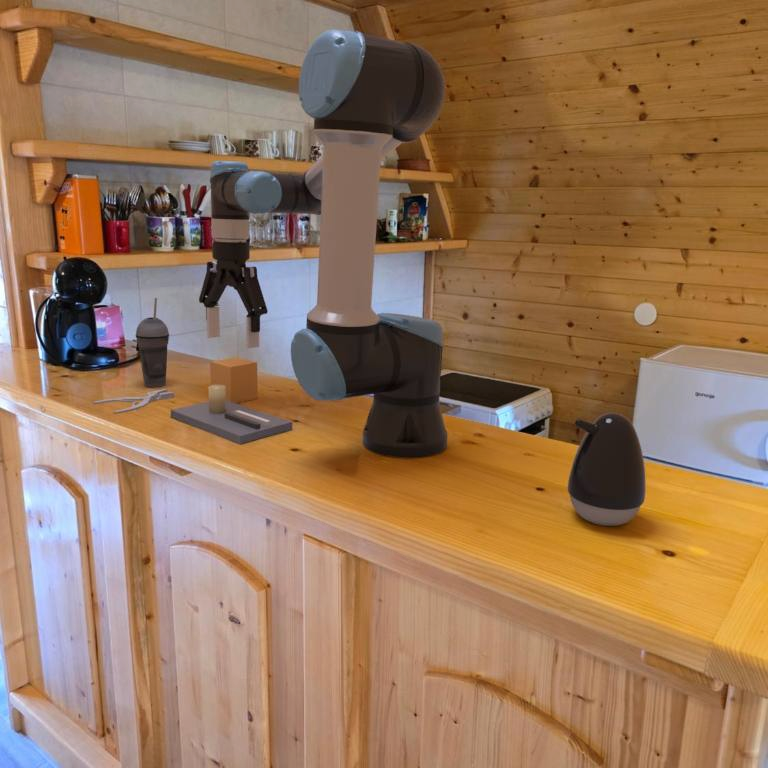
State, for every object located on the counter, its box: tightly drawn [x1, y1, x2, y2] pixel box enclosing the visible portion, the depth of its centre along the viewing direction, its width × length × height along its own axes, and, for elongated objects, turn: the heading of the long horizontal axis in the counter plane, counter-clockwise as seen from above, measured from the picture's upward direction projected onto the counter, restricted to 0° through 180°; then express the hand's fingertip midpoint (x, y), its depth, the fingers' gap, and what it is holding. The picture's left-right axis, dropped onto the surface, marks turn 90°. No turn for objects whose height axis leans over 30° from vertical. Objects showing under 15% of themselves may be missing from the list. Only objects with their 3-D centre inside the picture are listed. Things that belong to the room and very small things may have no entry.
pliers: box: [92, 388, 175, 415], centre depth 145 cm, size 10×2×15 cm
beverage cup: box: [135, 297, 170, 388], centre depth 156 cm, size 7×7×20 cm
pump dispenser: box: [567, 412, 647, 527], centre depth 94 cm, size 10×10×15 cm
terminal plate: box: [170, 384, 293, 445], centre depth 132 cm, size 22×12×6 cm, turn 49°
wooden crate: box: [209, 356, 259, 404], centre depth 149 cm, size 7×7×8 cm
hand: (232, 342), depth 147 cm, fingers open, 13 cm apart
